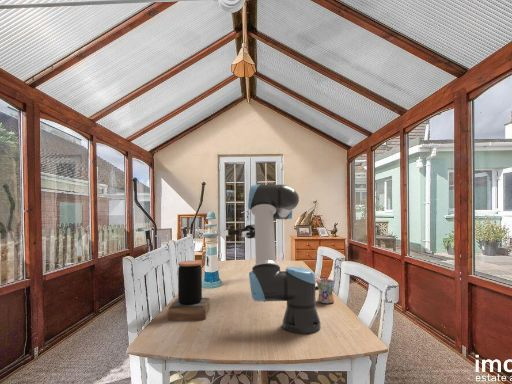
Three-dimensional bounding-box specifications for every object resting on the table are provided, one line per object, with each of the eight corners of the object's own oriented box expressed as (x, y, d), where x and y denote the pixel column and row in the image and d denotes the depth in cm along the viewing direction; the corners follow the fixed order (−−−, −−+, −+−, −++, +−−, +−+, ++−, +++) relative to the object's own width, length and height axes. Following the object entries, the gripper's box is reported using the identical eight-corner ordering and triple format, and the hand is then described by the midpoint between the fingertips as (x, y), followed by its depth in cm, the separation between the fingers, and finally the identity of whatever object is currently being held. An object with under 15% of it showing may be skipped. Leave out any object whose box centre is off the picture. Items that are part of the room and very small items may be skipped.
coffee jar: (206, 300, 152) (206, 261, 153) (190, 306, 143) (190, 265, 144) (189, 297, 158) (189, 259, 158) (173, 303, 149) (173, 263, 149)
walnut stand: (205, 319, 142) (205, 306, 142) (168, 320, 142) (168, 307, 142) (209, 308, 158) (209, 297, 158) (176, 309, 158) (176, 297, 158)
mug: (337, 304, 162) (337, 282, 163) (319, 305, 161) (318, 283, 162) (330, 297, 174) (329, 277, 175) (313, 298, 173) (312, 278, 174)
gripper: (272, 238, 178) (252, 242, 160) (234, 237, 191) (211, 240, 172) (272, 224, 178) (251, 227, 160) (234, 224, 191) (211, 226, 173)
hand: (230, 234), depth 166 cm, fingers open, 13 cm apart
